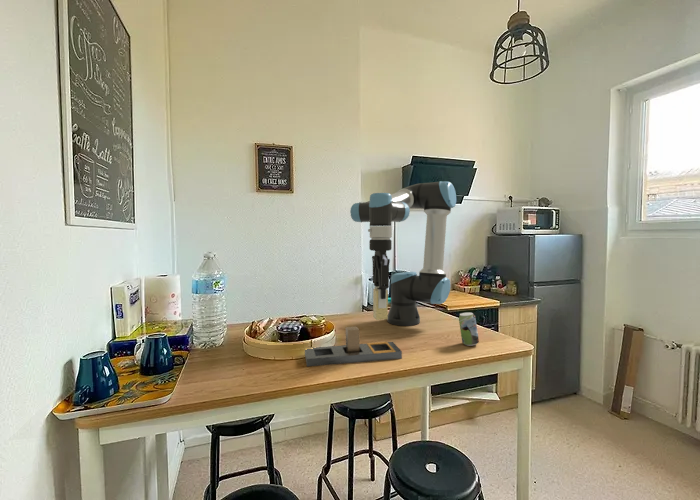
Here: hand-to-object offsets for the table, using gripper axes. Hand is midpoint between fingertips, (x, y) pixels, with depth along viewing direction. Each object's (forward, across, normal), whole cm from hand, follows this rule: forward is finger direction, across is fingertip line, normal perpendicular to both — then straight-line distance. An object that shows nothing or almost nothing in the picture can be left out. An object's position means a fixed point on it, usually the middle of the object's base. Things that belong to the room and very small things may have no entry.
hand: (380, 306), depth 120 cm
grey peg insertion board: (+17, 0, -10) cm, 20 cm away
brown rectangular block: (+17, 0, -10) cm, 20 cm away
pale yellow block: (+4, 0, 0) cm, 4 cm away
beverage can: (+17, -3, +35) cm, 40 cm away
